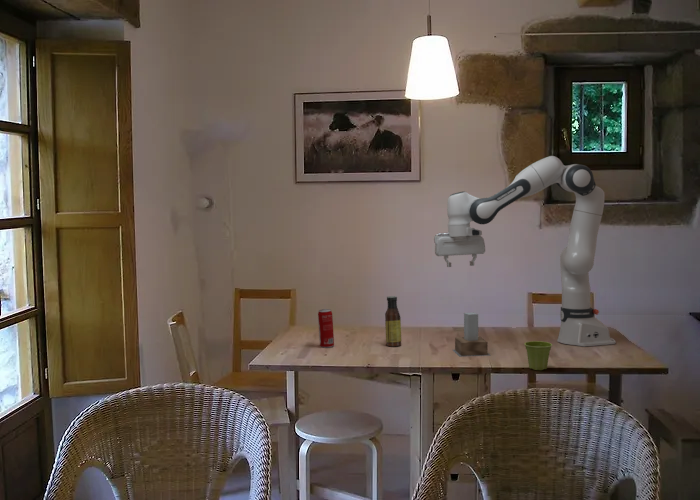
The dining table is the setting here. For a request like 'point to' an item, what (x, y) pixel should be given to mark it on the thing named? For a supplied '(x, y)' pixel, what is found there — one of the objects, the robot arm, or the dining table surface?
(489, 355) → the grey mat
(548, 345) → the plant pot
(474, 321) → the pillar block
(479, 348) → the walnut base block
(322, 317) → the beverage can
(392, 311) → the sauce bottle
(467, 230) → the robot arm
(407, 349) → the dining table surface
